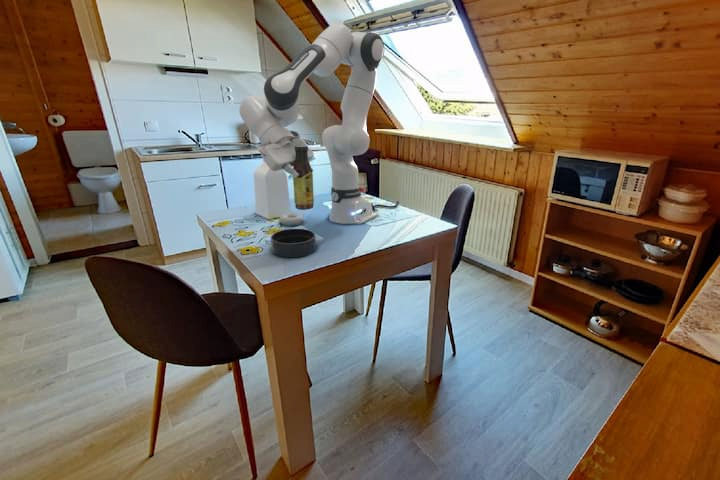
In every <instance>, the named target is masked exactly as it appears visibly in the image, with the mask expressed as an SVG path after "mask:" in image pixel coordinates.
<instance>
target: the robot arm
mask: <svg viewBox="0 0 720 480" xmlns="http://www.w3.org/2000/svg"><path fill="white" fill-rule="evenodd" d="M384 55H385V44H384V40H383V38H382V37H381V36H380V35H379V34H377V33H375V32H364V31H353V32H351V30H350V29H349V27H348V26H347V25H345V24H343V23H341V22H334V23H331V24H330V25H328V27H326V28H325V29H324V30H323V31H322V32H321V33H320V34H319V35H318V36H317V37H316V38H315V40H314V41H313V42H312V43H311V44H309V45H308V46H307V47H304V49H303V50H302V51H300V53H299V54H298V55H297V56H296V57H294V59H293V60H292V61H291V62H290V63H289V64H287V66H285V67H284V68H283V69H281V70H279V71H277V72H275V73H273V74H271V75H270V76H269V77H268V78H267V79H266V80H265V81H264V85H263V93H264V96H261V95H259V96H257V95H254V94H250V95H248V96H246V97H245V98H244V99H243V100H242V102H241V103H240V104H239V105H240V106H239V109H238V110H239V116H240V118H241V119H242V122H243V123H244V124H245V125H246V127H247V128H248V129H249V131H250V132H251V133H252V134H253V135H255V136H256V137H257V139H258V141H259V143H258V145H257V150H258V152H259V153H260V157H261V158H262V160H263V159H264V161H265V163H266V164H267V165H268V167H269V168H270V169H271V170H273V171H277V170H281V169H282V170H283V171H285V173H286V174H289V175H291V176H292V178H293V177H294V178H298V177H299V176H300V173H299V172H298V171H297V170H294V169H293V167H294V164H295V163H296V152H295V146H302V145H304V146H308V151H307V153H308V161H309V164H310V165H311V163H310V162H311V161H312V160H313V159H314V157H315V154H314V152H313V150H312V149H311V148H310V146H309V145H308V144H307V142H306V141H304V140H303V139H302V138H301V135H300V133H299V132H298V131H296V130H295V131H294V130H291V129H288V128H286V127H288V126H290V125H292V124H294V123H295V122H296V121H297V119H298V117H299V94H300V88H301V86H302V85H303V83H304V82H305V81H306V80H307V79H308V78H309V77H310V76H311V75H312V74H314V75H316V76H317V77H322V78H326V77H327V78H328V77H329V76H331V75H332V74H333V73H334V72H335V71H336V70H337V69H338V68H339V67H340V65H342V66H350V75H349V77H348V80H347V83H346V86H345V89H344V92H343V97H342V99H341V103H340V110H341V112H342V113H341V114H342V122H341V125H340V124H333V125H331V126H328V127H326V128H325V129H324V131H323V132H322V135H321V141H322V145H323V146H324V147H325V149H326V152H327V155H328V158H329V164H330V169H331V187H330V188H331V189H330V196H331V205H329V206H328V209H330V212H329V213H330V214H329V217H328V221H330V222H332V223H335V224H342V225H348V224H350V225H354V224H355V225H361V224H363V223H365V222H367V221H370V220H371V219H373V218H376V217H378V213H377V212H376V209H375V207H382V208H389V209H391V208H397V206H398V205H399V204H400V201H399V200H396V203H395V205H384V204H373V203H372V202H371V201H370V200H369V199H367V198H366V197H364V196H363V195H362V193H364V192H365V191H366V187H365V186H360V187H359V169H358V165H357V164H356V163H355V161H354V156H360V155H364V154H365V153H366V152H367V151H368V150H369V147H370V145H371V144H370V143H371V141H370V140H371V139H370V135H369V133H368V131H367V130H368V129H367V118H368V113H369V109H370V106H371V103H372V99H373V96H374V92H375V89H376V84H377V78H378V77H377V76H378V75H377V74H378V72H377V68H379V66H380V64H381V62H382V60H383V57H384ZM311 169H312V172H314V169H313V168H312V167H311Z"/></svg>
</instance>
